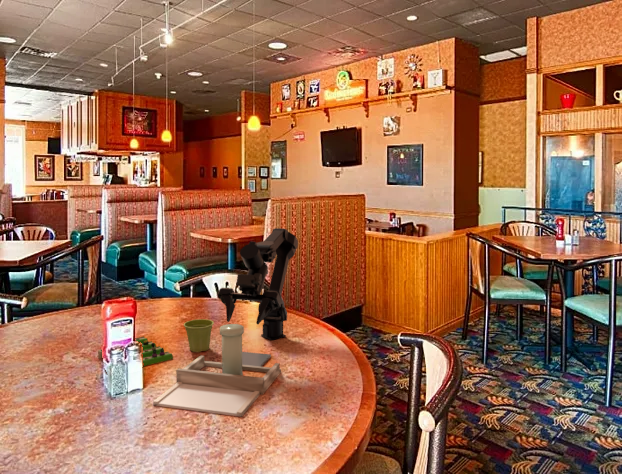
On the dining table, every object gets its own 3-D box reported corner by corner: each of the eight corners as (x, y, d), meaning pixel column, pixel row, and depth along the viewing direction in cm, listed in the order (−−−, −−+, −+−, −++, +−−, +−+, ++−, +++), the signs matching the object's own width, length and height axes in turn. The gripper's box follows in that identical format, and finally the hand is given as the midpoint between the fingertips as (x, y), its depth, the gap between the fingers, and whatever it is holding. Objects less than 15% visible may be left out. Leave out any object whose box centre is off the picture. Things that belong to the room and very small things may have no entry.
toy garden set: (173, 360, 153) (173, 345, 152) (110, 376, 140) (109, 360, 140) (143, 341, 170) (142, 328, 169) (84, 354, 157) (83, 340, 157)
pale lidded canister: (236, 369, 144) (235, 322, 142) (248, 376, 139) (248, 327, 137) (216, 375, 140) (215, 327, 138) (228, 382, 135) (227, 332, 133)
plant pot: (207, 355, 155) (206, 328, 154) (179, 353, 157) (178, 326, 156) (218, 345, 165) (218, 320, 164) (192, 343, 166) (191, 318, 165)
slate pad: (237, 353, 157) (237, 351, 157) (270, 356, 154) (270, 354, 154) (223, 366, 146) (223, 363, 146) (258, 370, 144) (258, 367, 144)
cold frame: (202, 363, 148) (202, 350, 148) (280, 372, 142) (280, 358, 142) (176, 384, 134) (176, 370, 133) (262, 394, 128) (262, 379, 127)
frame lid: (178, 385, 133) (178, 381, 133) (259, 395, 127) (259, 391, 127) (153, 405, 121) (153, 401, 121) (241, 416, 116) (241, 412, 116)
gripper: (219, 261, 151) (203, 306, 141) (278, 264, 146) (266, 310, 137) (230, 282, 159) (216, 325, 150) (286, 285, 155) (275, 330, 145)
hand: (242, 322), depth 145 cm, fingers open, 9 cm apart
